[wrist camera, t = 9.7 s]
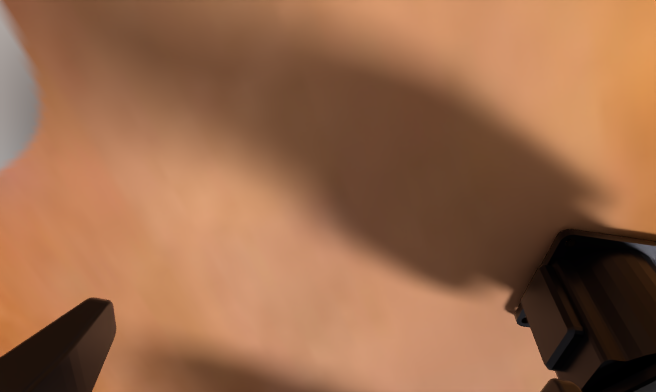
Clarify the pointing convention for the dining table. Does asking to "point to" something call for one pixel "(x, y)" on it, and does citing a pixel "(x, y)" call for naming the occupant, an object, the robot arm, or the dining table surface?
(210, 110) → the dining table surface
